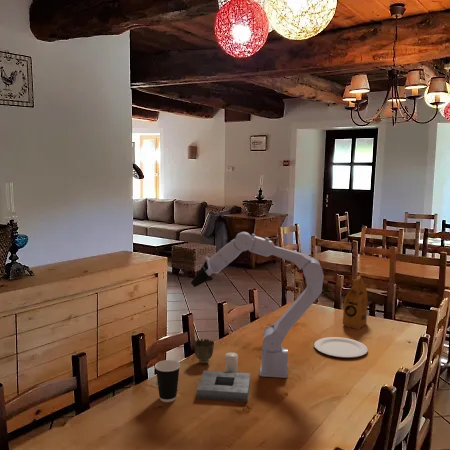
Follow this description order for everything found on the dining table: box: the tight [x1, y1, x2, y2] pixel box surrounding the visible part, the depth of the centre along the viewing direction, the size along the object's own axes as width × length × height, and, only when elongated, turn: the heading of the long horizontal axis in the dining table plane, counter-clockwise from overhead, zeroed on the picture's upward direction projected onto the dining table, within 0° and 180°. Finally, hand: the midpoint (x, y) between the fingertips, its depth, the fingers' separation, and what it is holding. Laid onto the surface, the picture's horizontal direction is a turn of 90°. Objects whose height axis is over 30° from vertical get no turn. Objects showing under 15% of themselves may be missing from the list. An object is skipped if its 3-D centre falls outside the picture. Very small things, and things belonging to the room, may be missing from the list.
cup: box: [193, 338, 215, 365], centre depth 177 cm, size 8×7×8 cm
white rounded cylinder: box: [224, 352, 239, 373], centre depth 168 cm, size 4×4×7 cm
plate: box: [313, 336, 369, 359], centre depth 191 cm, size 21×21×2 cm
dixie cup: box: [154, 359, 181, 403], centre depth 150 cm, size 8×8×11 cm
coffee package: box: [342, 275, 368, 330], centre depth 219 cm, size 10×12×22 cm
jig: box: [196, 369, 251, 403], centre depth 157 cm, size 16×14×3 cm
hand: (194, 281), depth 169 cm, fingers open, 7 cm apart
